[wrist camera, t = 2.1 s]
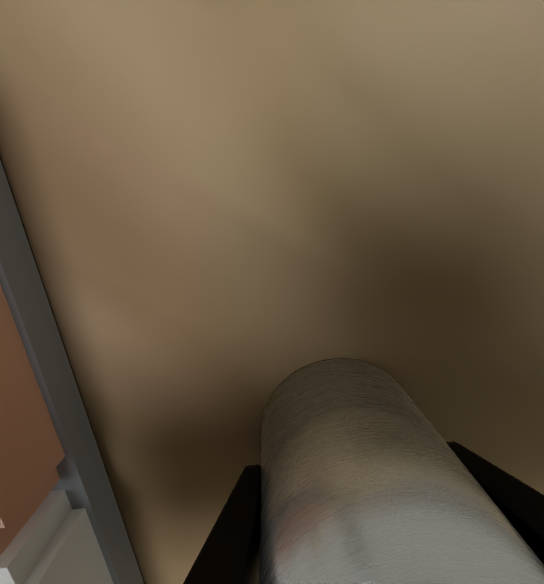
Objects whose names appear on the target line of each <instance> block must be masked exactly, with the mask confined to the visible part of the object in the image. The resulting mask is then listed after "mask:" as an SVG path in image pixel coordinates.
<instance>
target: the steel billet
mask: <svg viewBox="0 0 544 584" xmlns="http://www.w3.org/2000/svg"><path fill="white" fill-rule="evenodd" d="M259 584H544V564H543V563H542V562H541V560H540V559H539V558H538V557H537V555H536V554H535V553H534V552H533V550H532V549H531V548H530V547H529V545H528V544H527V543H526V542H525V540H524V539H523V538H522V537H521V535H520V534H519V533H518V532H517V530H516V529H515V528H514V527H513V525H512V524H511V523H510V522H509V520H508V519H507V518H506V517H505V515H504V514H503V513H502V512H501V510H500V509H499V508H498V507H497V505H496V504H495V503H494V502H493V501H492V499H491V498H490V497H489V496H488V494H487V493H486V492H485V491H484V489H483V488H482V487H481V486H480V484H479V483H478V482H477V481H476V479H475V478H474V477H473V476H472V474H471V473H470V472H469V471H468V469H467V468H466V467H465V466H464V464H463V463H462V462H461V461H460V459H459V458H458V457H457V456H456V454H455V453H454V452H453V451H452V449H451V448H450V447H449V446H448V444H447V443H446V442H445V441H444V439H443V438H442V437H441V436H440V434H439V433H438V432H437V431H436V429H435V428H434V427H433V426H432V424H431V423H430V422H429V421H428V419H427V418H426V417H425V416H424V414H423V413H422V412H421V411H420V410H419V408H418V407H417V406H416V405H415V403H414V402H413V401H412V400H411V398H410V397H409V396H408V395H407V393H406V392H405V391H404V390H403V388H402V387H401V386H400V385H399V383H398V382H397V381H396V380H395V379H394V378H393V377H392V376H391V375H390V374H388V373H387V372H385V371H384V370H382V369H381V368H379V367H377V366H375V365H373V364H370V363H367V362H364V361H359V360H354V359H330V360H324V361H320V362H316V363H313V364H310V365H308V366H306V367H303V368H301V369H299V370H298V371H296V372H294V373H293V374H291V375H290V376H289V377H287V378H286V379H285V380H284V381H283V382H282V383H281V384H280V385H279V386H278V387H277V388H276V390H275V391H274V392H273V393H272V395H271V397H270V398H269V400H268V402H267V405H266V407H265V410H264V414H263V418H262V437H261V493H260V550H259Z"/></svg>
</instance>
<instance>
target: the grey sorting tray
mask: <svg viewBox="0 0 544 584" xmlns="http://www.w3.org/2000/svg"><path fill="white" fill-rule="evenodd" d="M0 584H144V582H143V579H142V576H141V573H140V570H139V567H138V564H137V561H136V558H135V555H134V552H133V550H132V547H131V544H130V541H129V538H128V535H127V532H126V529H125V526H124V523H123V520H122V517H121V514H120V511H119V508H118V505H117V502H116V499H115V496H114V494H113V491H112V488H111V485H110V482H109V479H108V476H107V473H106V470H105V467H104V464H103V461H102V458H101V455H100V452H99V449H98V446H97V443H96V440H95V437H94V435H93V432H92V429H91V426H90V423H89V420H88V417H87V414H86V411H85V408H84V405H83V402H82V399H81V396H80V393H79V390H78V387H77V384H76V381H75V379H74V376H73V373H72V370H71V367H70V364H69V361H68V358H67V355H66V352H65V349H64V346H63V343H62V340H61V337H60V334H59V331H58V328H57V325H56V322H55V320H54V317H53V314H52V311H51V308H50V305H49V302H48V299H47V296H46V293H45V290H44V287H43V284H42V281H41V278H40V275H39V272H38V269H37V266H36V264H35V261H34V258H33V255H32V252H31V249H30V246H29V243H28V240H27V237H26V234H25V231H24V228H23V225H22V222H21V219H20V216H19V213H18V210H17V208H16V205H15V202H14V199H13V196H12V193H11V190H10V187H9V184H8V181H7V178H6V175H5V172H4V169H3V166H2V163H1V160H0Z"/></svg>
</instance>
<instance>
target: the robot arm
mask: <svg viewBox="0 0 544 584" xmlns="http://www.w3.org/2000/svg"><path fill="white" fill-rule="evenodd" d="M446 443H447V444H448V446H449V447H450V448H451V449H452V451H453V452H454V453H455V454H456V456H457V457H458V458H459V459H460V461H461V462H462V463H463V464H464V466H465V467H466V468H467V469H468V471H469V472H470V473H471V474H472V476H473V477H474V478H475V479H476V481H477V482H478V483H479V484H480V486H481V487H482V488H483V489H484V491H485V492H486V493H487V494H488V496H489V497H490V498H491V499H492V501H493V502H494V503H495V504H496V505H497V507H498V508H499V509H500V510H501V512H502V513H503V514H504V515H505V517H506V518H507V519H508V520H509V522H510V523H511V524H512V525H513V527H514V528H515V529H516V530H517V532H518V533H519V534H520V535H521V537H522V538H523V539H524V540H525V542H526V543H527V544H528V545H529V547H530V548H531V549H532V550H533V552H534V553H535V554H536V555H537V557H538V558H539V559H540V560H541V562H542V563H543V564H544V495H543V494H541V493H539V492H538V491H536V490H535V489H533V488H531V487H530V486H528V485H526V484H525V483H523V482H521V481H520V480H518V479H516V478H515V477H513V476H511V475H510V474H508V473H506V472H505V471H503V470H501V469H500V468H498V467H497V466H495V465H493V464H492V463H490V462H488V461H487V460H485V459H483V458H482V457H480V456H478V455H477V454H475V453H473V452H472V451H470V450H468V449H467V448H465V447H463V446H462V445H460V444H459V443H457V442H446ZM260 493H261V467H260V465H249V466H246V467H245V468H244V470H243V472H242V474H241V476H240V478H239V479H238V481H237V483H236V485H235V487H234V489H233V491H232V493H231V495H230V496H229V498H228V500H227V502H226V504H225V506H224V508H223V510H222V511H221V513H220V515H219V517H218V519H217V521H216V523H215V525H214V527H213V528H212V530H211V532H210V534H209V536H208V538H207V540H206V542H205V544H204V545H203V547H202V549H201V551H200V553H199V555H198V557H197V559H196V560H195V562H194V564H193V566H192V568H191V570H190V572H189V574H188V576H187V577H186V579H185V581H184V583H183V584H259V550H260Z"/></svg>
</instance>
